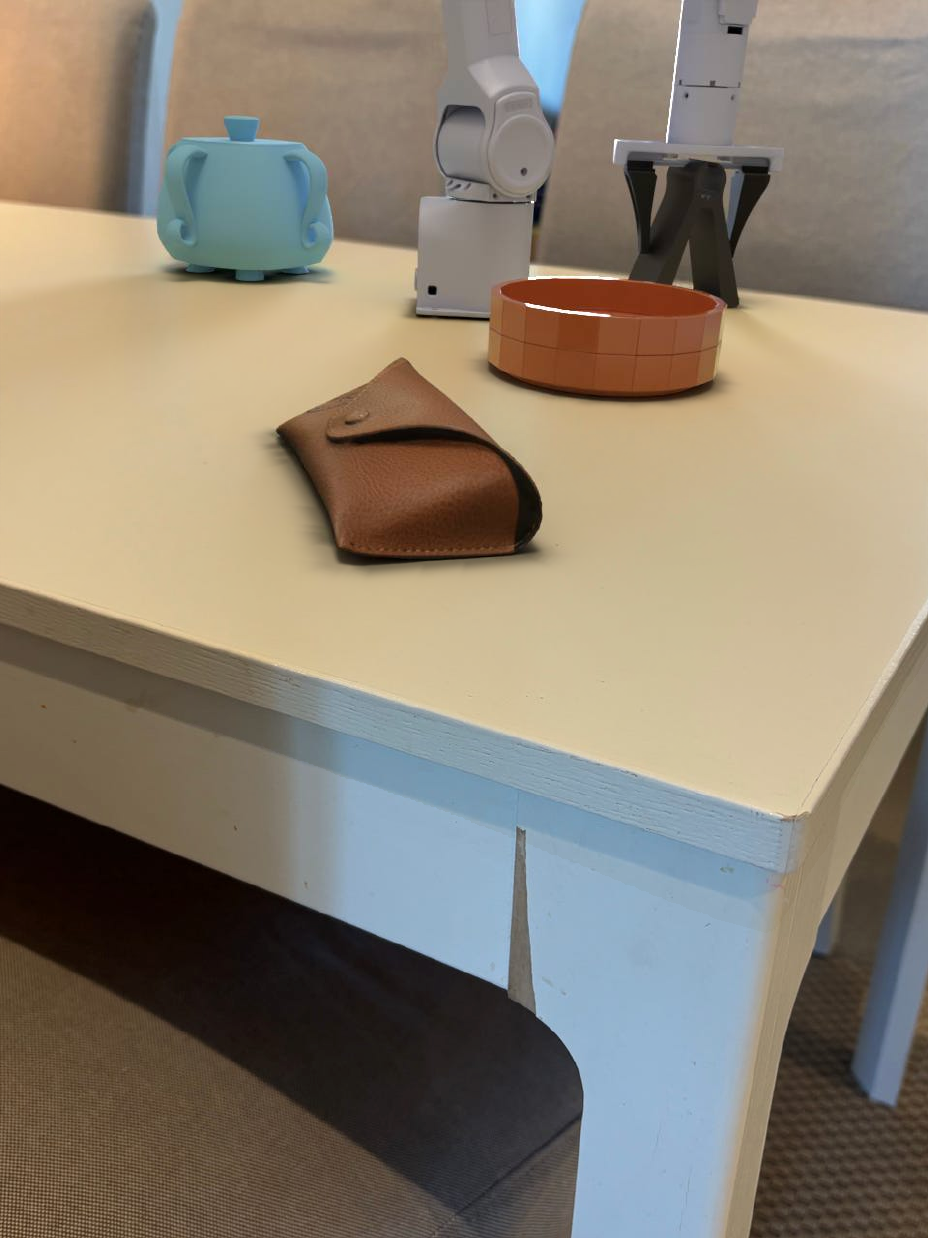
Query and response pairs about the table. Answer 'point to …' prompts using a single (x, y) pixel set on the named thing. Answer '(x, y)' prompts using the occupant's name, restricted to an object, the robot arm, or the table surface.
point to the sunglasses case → (413, 473)
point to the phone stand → (691, 232)
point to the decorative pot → (244, 203)
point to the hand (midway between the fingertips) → (684, 254)
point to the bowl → (605, 335)
